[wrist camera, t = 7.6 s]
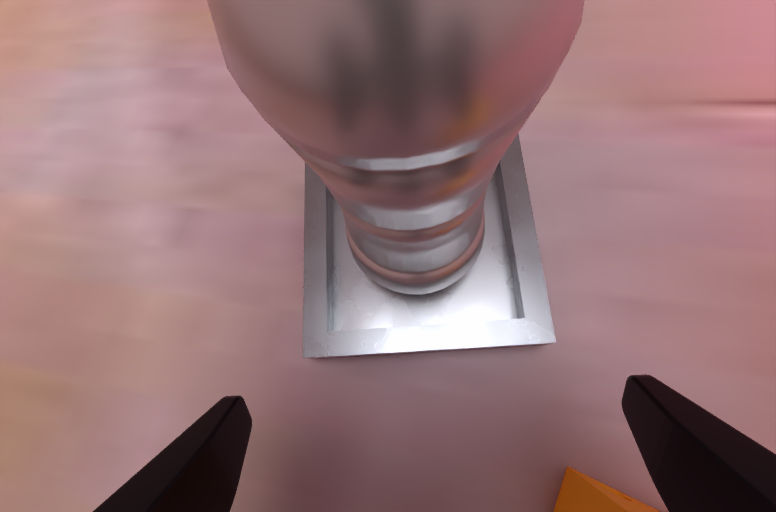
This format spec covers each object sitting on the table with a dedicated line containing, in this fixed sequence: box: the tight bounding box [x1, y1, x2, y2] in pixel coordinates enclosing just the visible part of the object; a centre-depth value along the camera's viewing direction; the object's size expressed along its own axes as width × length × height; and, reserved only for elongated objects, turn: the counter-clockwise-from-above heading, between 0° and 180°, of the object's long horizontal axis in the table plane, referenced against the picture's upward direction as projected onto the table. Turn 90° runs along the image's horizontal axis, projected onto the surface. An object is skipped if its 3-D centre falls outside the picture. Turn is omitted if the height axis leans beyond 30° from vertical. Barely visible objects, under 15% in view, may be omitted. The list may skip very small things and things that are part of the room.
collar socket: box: [303, 134, 556, 359], centre depth 20 cm, size 12×12×2 cm
